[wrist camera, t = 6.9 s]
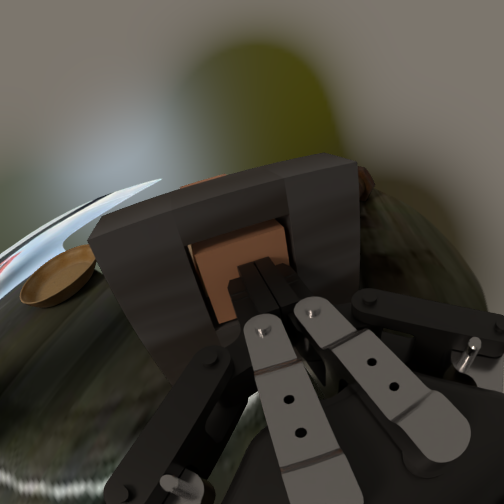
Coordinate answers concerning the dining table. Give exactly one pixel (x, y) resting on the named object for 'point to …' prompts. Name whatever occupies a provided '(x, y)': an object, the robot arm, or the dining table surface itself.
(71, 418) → the dining table surface
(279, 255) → the peg
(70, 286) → the plant saucer
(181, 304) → the frame
